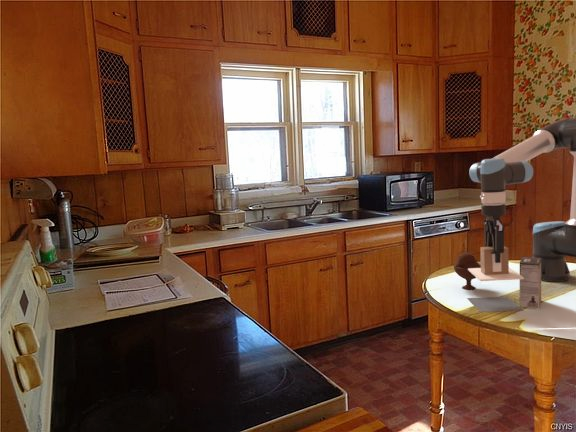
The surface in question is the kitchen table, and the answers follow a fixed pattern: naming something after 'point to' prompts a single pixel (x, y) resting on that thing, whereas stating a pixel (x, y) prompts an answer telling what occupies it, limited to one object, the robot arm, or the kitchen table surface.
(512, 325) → the kitchen table surface
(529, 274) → the coffee box
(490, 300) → the mat
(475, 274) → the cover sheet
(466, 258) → the ice cream bowl
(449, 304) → the kitchen table surface
